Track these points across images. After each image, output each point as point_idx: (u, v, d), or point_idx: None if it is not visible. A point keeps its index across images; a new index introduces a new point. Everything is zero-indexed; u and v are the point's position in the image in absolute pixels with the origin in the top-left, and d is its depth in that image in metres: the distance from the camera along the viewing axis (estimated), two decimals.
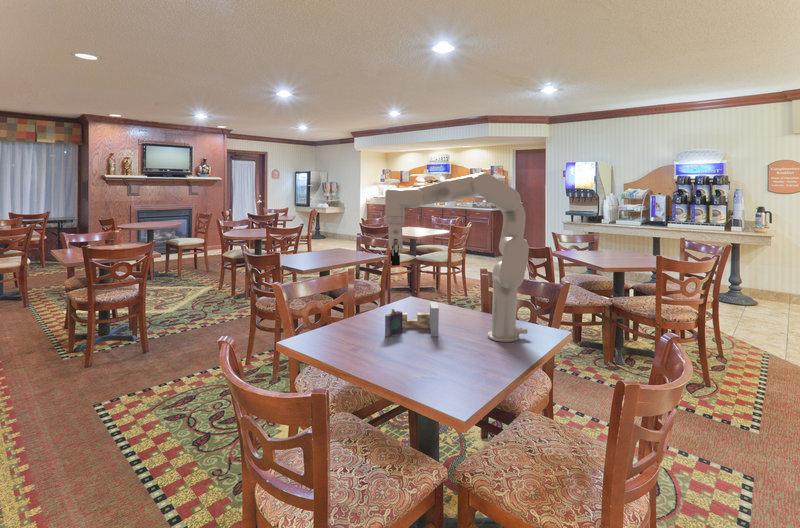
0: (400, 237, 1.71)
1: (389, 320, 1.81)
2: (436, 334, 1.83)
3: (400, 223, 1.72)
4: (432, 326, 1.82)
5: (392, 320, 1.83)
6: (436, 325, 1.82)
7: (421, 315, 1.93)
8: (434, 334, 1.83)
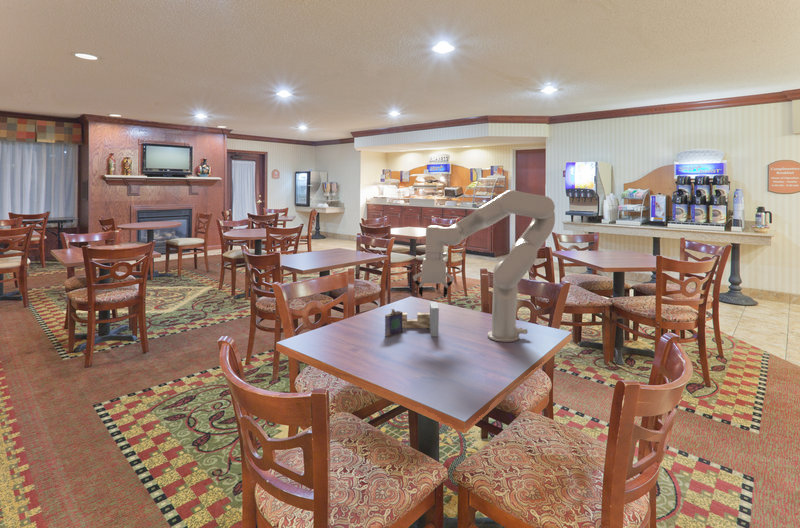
0: None
1: (389, 320, 1.81)
2: (436, 334, 1.83)
3: None
4: (432, 326, 1.82)
5: (392, 320, 1.83)
6: (436, 325, 1.82)
7: (421, 315, 1.93)
8: (434, 334, 1.83)
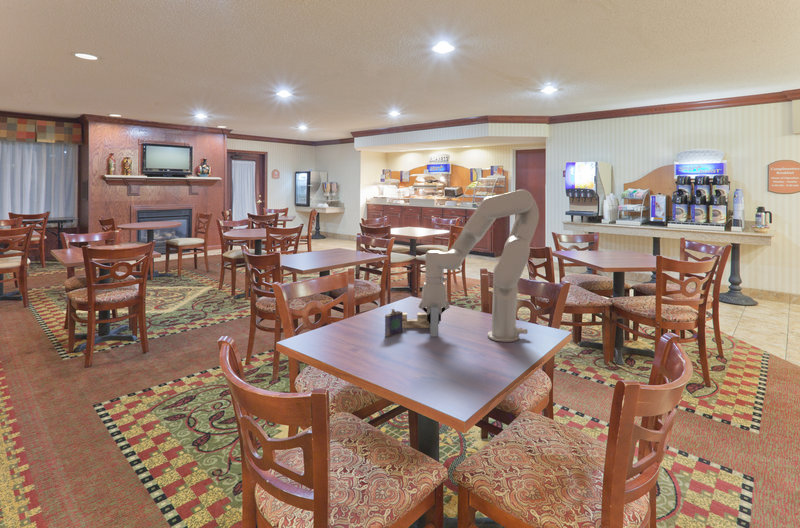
0: None
1: (389, 320, 1.81)
2: (436, 334, 1.83)
3: None
4: (432, 326, 1.82)
5: (392, 320, 1.83)
6: (436, 325, 1.82)
7: (421, 315, 1.93)
8: (434, 334, 1.83)
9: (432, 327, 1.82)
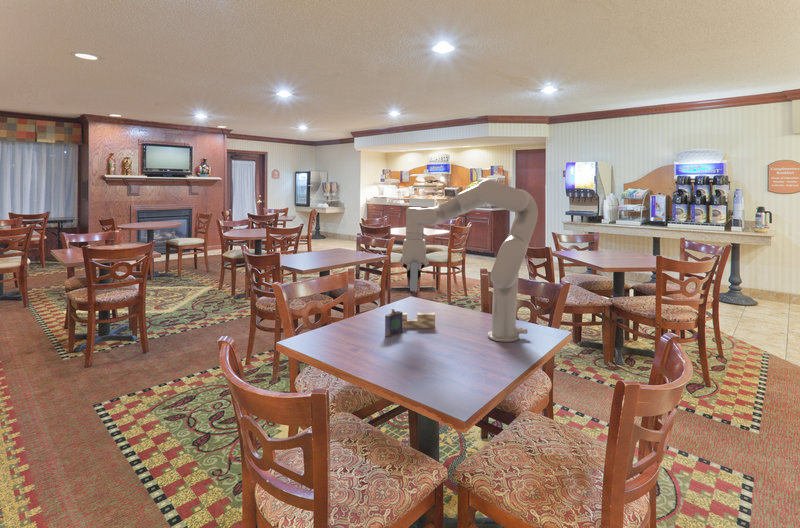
0: None
1: (389, 320, 1.81)
2: (415, 289, 1.87)
3: None
4: (411, 281, 1.86)
5: (392, 320, 1.83)
6: (415, 280, 1.86)
7: (421, 315, 1.93)
8: (413, 289, 1.87)
9: (411, 282, 1.87)
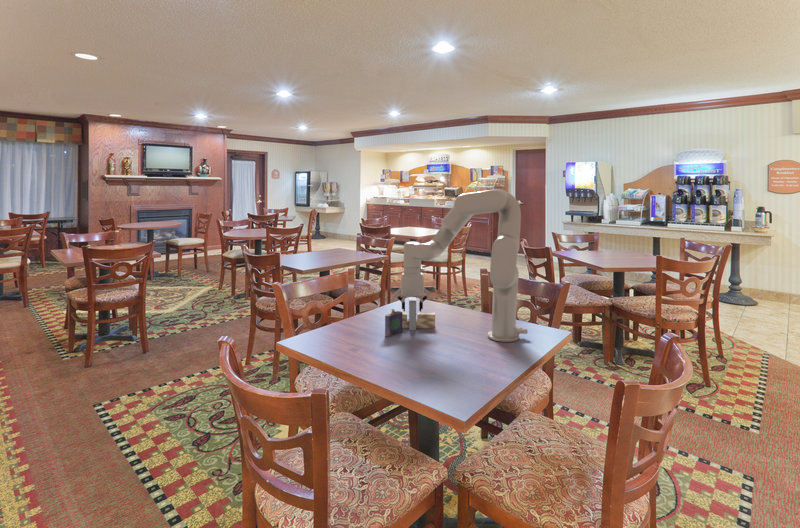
0: None
1: (389, 320, 1.81)
2: (414, 328, 1.91)
3: None
4: (410, 320, 1.90)
5: (392, 320, 1.83)
6: (414, 319, 1.90)
7: (421, 315, 1.93)
8: (412, 328, 1.91)
9: (410, 321, 1.90)
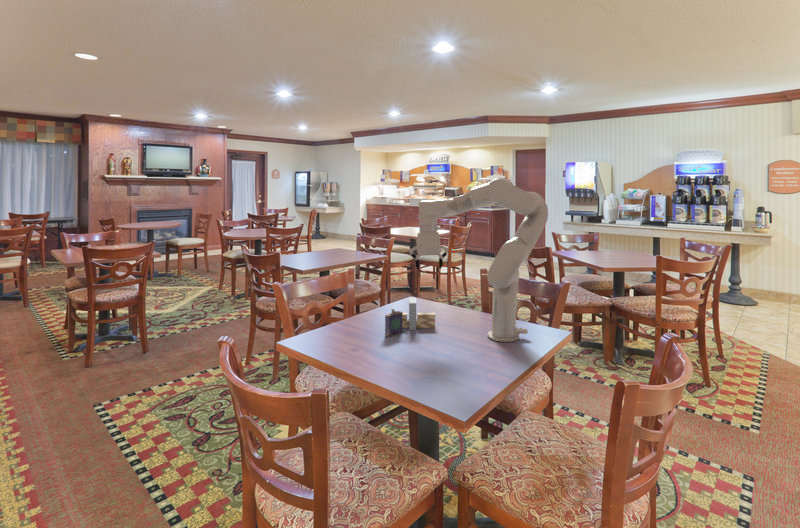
0: None
1: (389, 320, 1.81)
2: (414, 328, 1.91)
3: None
4: (410, 320, 1.90)
5: (392, 320, 1.83)
6: (414, 319, 1.90)
7: (421, 315, 1.93)
8: (412, 328, 1.91)
9: (410, 321, 1.90)
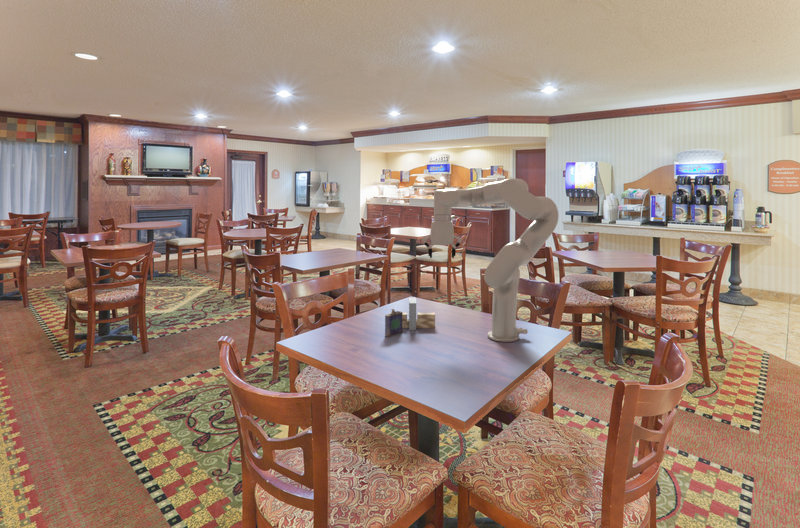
0: None
1: (389, 320, 1.81)
2: (414, 328, 1.91)
3: None
4: (410, 320, 1.90)
5: (392, 320, 1.83)
6: (414, 319, 1.90)
7: (421, 315, 1.93)
8: (412, 328, 1.91)
9: (410, 321, 1.90)
